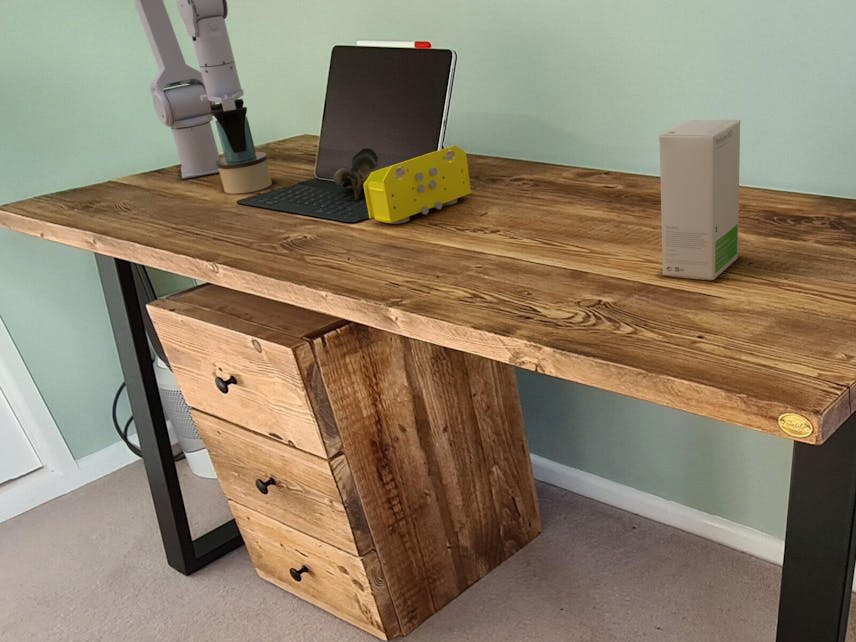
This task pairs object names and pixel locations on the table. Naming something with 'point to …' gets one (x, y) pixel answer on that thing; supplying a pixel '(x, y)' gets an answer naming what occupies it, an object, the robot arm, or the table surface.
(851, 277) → the table surface
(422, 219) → the table surface
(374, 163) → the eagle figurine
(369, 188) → the yellow toy chassis
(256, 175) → the jar
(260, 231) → the table surface
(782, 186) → the table surface
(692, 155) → the cosmetic box
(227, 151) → the cup
